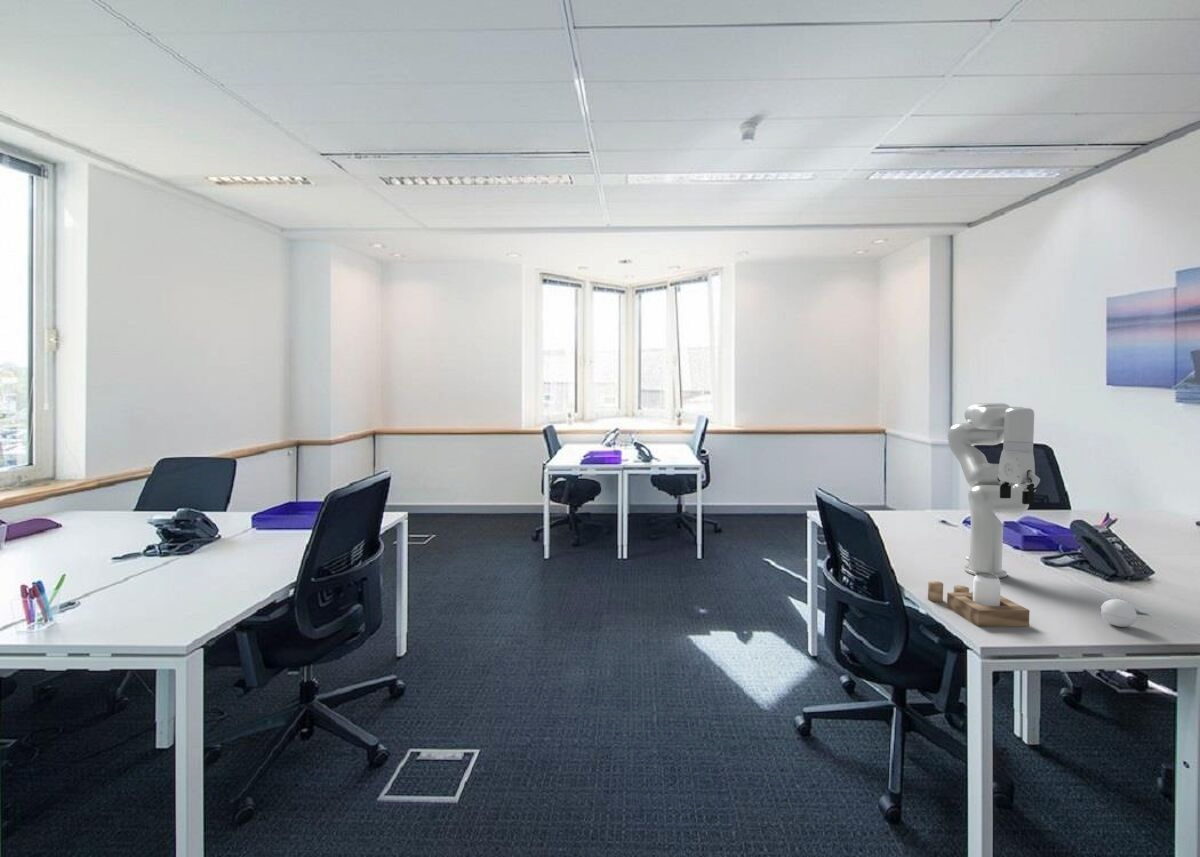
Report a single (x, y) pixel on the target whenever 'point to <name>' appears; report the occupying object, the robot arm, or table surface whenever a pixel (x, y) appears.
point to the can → (986, 589)
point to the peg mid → (935, 591)
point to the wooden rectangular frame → (988, 611)
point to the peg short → (961, 589)
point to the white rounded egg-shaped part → (1118, 612)
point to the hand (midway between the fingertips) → (1016, 501)
